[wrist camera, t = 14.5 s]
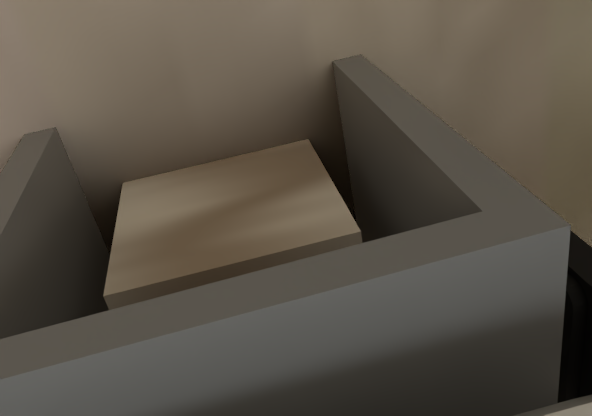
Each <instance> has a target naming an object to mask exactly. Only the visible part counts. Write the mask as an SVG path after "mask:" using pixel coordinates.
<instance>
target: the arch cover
mask: <svg viewBox="0 0 592 416" xmlns="http://www.w3.org/2000/svg"><path fill="white" fill-rule="evenodd" d="M333 68H334V75H335V81H336V88H337V95H338V101H339V108H340V115H341V121H342V128H343V135H344V141H345V148H346V155H347V162H348V168H349V175H350V182H351V188H352V195H353V202H354V208H355V215H356V222H357V225H358V227H359V229H360V231H361V236H362V243H361V244H357V245H353V246H350V247H346V248H342V249H338V250H335V251H331V252H327V253H323V254H319V255H316V256H312V257H308V258H304V259H301V260H297V261H293V262H289V263H286V264H282V265H278V266H274V267H270V268H267V269H263V270H259V271H255V272H252V273H248V274H244V275H240V276H236V277H233V278H229V279H225V280H221V281H218V282H214V283H210V284H206V285H203V286H199V287H195V288H191V289H187V290H184V291H180V292H176V293H172V294H169V295H165V296H161V297H157V298H154V299H150V300H146V301H142V302H138V303H135V304H131V305H127V306H123V307H120V308H116V309H112V310H109V308H108V306H107V304H106V302H105V299H104V297H103V294H104V289H105V283H106V277H107V271H108V265H109V260H110V254H109V252H108V250H107V247H106V245H105V243H104V240H103V238H102V235H101V233H100V231H99V228H98V226H97V224H96V221H95V219H94V217H93V214H92V212H91V210H90V207H89V205H88V202H87V200H86V198H85V195H84V193H83V191H82V188H81V186H80V184H79V181H78V179H77V177H76V174H75V172H74V169H73V167H72V165H71V162H70V160H69V158H68V155H67V153H66V151H65V148H64V146H63V144H62V141H61V139H60V136H59V134H58V132H57V129H56V127H54V128H50V129H46V130H42V131H37V132H33V133H29V134H25V135H24V136H23V138H22V140H21V141H20V143H19V144H18V146H17V148H16V149H15V151H14V152H13V154H12V156H11V157H10V159H9V160H8V162H7V164H6V165H5V167H4V168H3V170H2V172H1V173H0V416H514V415H517V414H521V413H525V412H528V411H532V410H535V409H539V408H542V407H546V406H550V405H553V404H557V401H558V388H559V375H560V361H561V348H562V335H563V322H564V309H565V296H566V283H567V270H568V256H569V243H570V230H571V225H570V224H569V223H568V222H566V221H565V220H564V219H563V218H561V217H560V216H559V215H558V214H557V213H555V212H554V211H553V210H552V209H550V208H549V207H548V206H547V205H546V204H544V203H543V202H542V201H541V200H539V199H538V198H537V197H536V196H534V195H533V194H532V193H531V192H530V191H528V190H527V189H526V188H525V187H523V186H522V185H521V184H520V183H518V182H517V181H516V180H515V179H514V178H512V177H511V176H510V175H509V174H507V173H506V172H505V171H504V170H502V169H501V168H500V167H499V166H498V165H496V164H495V163H494V162H493V161H491V160H490V159H489V158H488V157H486V156H485V155H484V154H483V153H482V152H480V151H479V150H478V149H477V148H475V147H474V146H473V145H472V144H470V143H469V142H468V141H467V140H466V139H464V138H463V137H462V136H461V135H459V134H458V133H457V132H456V131H454V130H453V129H452V128H451V127H450V126H448V125H447V124H446V123H445V122H443V121H442V120H441V119H440V118H438V117H437V116H436V115H435V114H434V113H432V112H431V111H430V110H429V109H427V108H426V107H425V106H424V105H422V104H421V103H420V102H419V101H418V100H416V99H415V98H414V97H413V96H411V95H410V94H409V93H408V92H406V91H405V90H404V89H403V88H402V87H400V86H399V85H398V84H397V83H395V82H394V81H393V80H392V79H390V78H389V77H388V76H387V75H386V74H384V73H383V72H382V71H381V70H379V69H378V68H377V67H376V66H374V65H373V64H372V63H371V62H370V61H368V60H367V59H366V58H365V57H363V56H362V55H357V56H352V57H348V58H344V59H340V60H336V61H333Z"/></svg>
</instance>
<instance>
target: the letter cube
mask: <svg viewBox="0 0 592 416" xmlns="http://www.w3.org/2000/svg"><path fill="white" fill-rule="evenodd" d="M361 243H362V236H361V231H360V229H359V227H358V225H357V224H356V222H355V220H354V218H353V217H352V215H351V213H350V211H349V210H348V208H347V206H346V204H345V203H344V201H343V199H342V197H341V195H340V194H339V192H338V190H337V188H336V187H335V185H334V183H333V181H332V180H331V178H330V176H329V174H328V173H327V171H326V169H325V167H324V166H323V164H322V162H321V160H320V159H319V157H318V155H317V153H316V152H315V150H314V148H313V146H312V145H311V143H310V141H309V139H306V140H302V141H298V142H293V143H289V144H285V145H281V146H276V147H272V148H268V149H264V150H259V151H255V152H251V153H247V154H243V155H238V156H234V157H230V158H226V159H221V160H217V161H213V162H209V163H204V164H200V165H196V166H192V167H188V168H183V169H179V170H175V171H171V172H166V173H162V174H158V175H154V176H149V177H145V178H141V179H137V180H133V181H128V182H124V183H123V185H122V190H121V196H120V202H119V208H118V213H117V219H116V225H115V231H114V237H113V242H112V248H111V254H110V260H109V265H108V271H107V277H106V283H105V289H104V294H103V297H104V299H105V302H106V304H107V306H108V308H109V310H112V309H116V308H120V307H123V306H127V305H131V304H135V303H138V302H142V301H146V300H150V299H154V298H157V297H161V296H165V295H169V294H172V293H176V292H180V291H184V290H187V289H191V288H195V287H199V286H203V285H206V284H210V283H214V282H218V281H221V280H225V279H229V278H233V277H236V276H240V275H244V274H248V273H252V272H255V271H259V270H263V269H267V268H270V267H274V266H278V265H282V264H286V263H289V262H293V261H297V260H301V259H304V258H308V257H312V256H316V255H319V254H323V253H327V252H331V251H335V250H338V249H342V248H346V247H350V246H353V245H357V244H361Z"/></svg>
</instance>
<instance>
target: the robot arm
mask: <svg viewBox="0 0 592 416" xmlns="http://www.w3.org/2000/svg"><path fill="white" fill-rule="evenodd" d="M514 416H592V247H590V246H589V245H588V244H587V243H585V242H584V241H583V240H582V239H580V238H579V237H578V236H577V235H576V234H574V233H573V232H572V231H571V230H570V243H569V256H568V270H567V283H566V296H565V309H564V322H563V335H562V348H561V361H560V375H559V388H558V401H557V404H553V405H550V406H546V407H542V408H539V409H535V410H532V411H528V412H525V413H521V414H517V415H514Z"/></svg>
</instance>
